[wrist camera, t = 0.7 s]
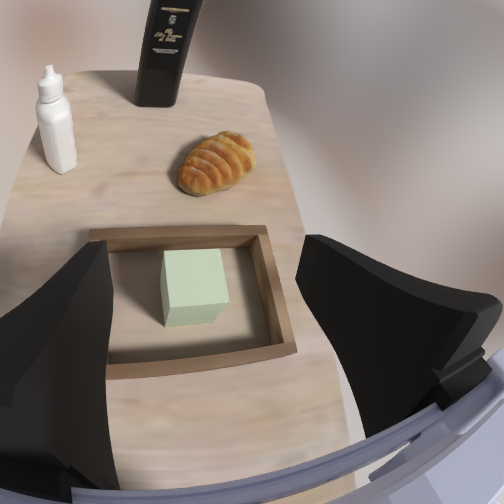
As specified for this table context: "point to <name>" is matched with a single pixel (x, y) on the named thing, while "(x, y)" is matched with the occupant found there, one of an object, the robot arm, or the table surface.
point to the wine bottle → (165, 50)
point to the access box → (208, 239)
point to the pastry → (216, 164)
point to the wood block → (192, 287)
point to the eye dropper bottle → (55, 123)
